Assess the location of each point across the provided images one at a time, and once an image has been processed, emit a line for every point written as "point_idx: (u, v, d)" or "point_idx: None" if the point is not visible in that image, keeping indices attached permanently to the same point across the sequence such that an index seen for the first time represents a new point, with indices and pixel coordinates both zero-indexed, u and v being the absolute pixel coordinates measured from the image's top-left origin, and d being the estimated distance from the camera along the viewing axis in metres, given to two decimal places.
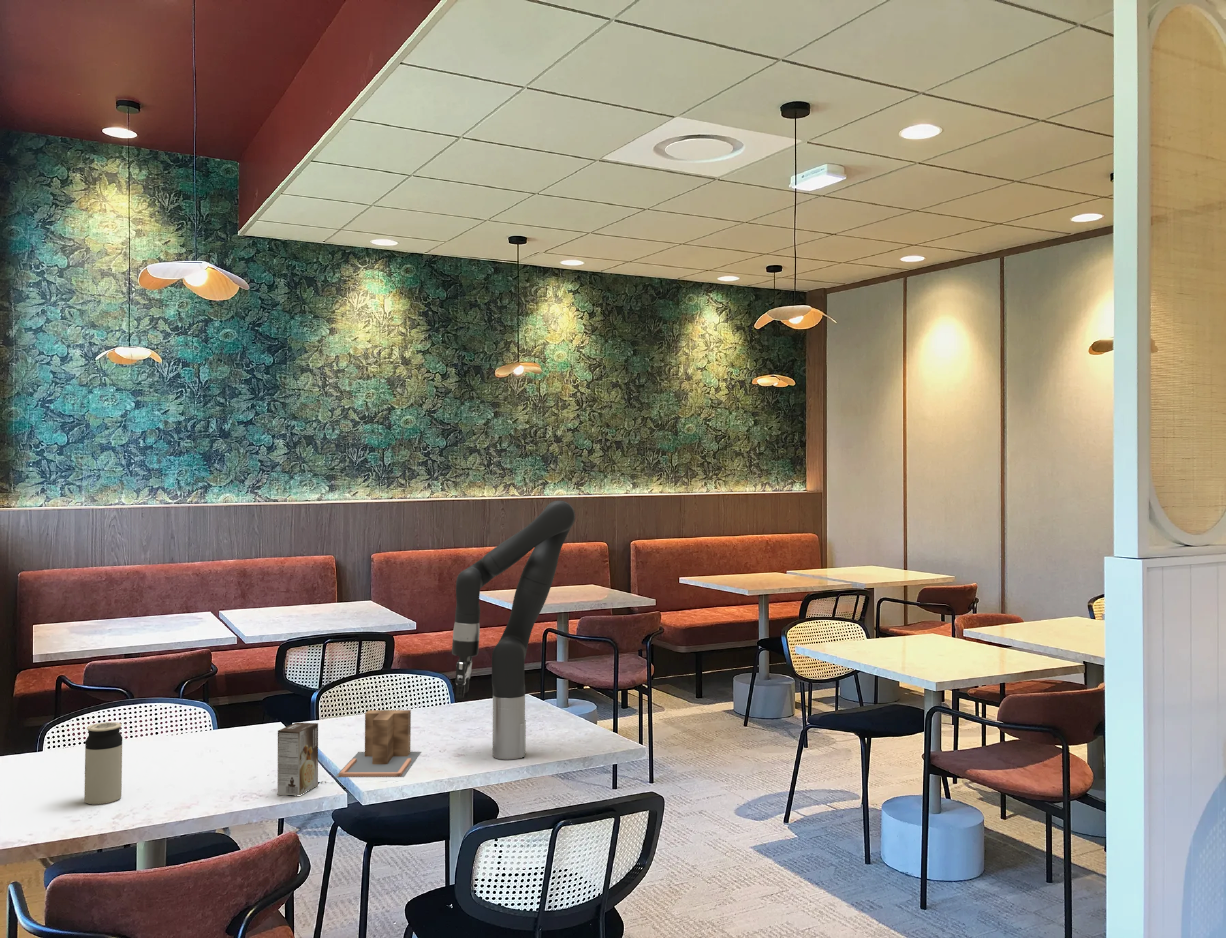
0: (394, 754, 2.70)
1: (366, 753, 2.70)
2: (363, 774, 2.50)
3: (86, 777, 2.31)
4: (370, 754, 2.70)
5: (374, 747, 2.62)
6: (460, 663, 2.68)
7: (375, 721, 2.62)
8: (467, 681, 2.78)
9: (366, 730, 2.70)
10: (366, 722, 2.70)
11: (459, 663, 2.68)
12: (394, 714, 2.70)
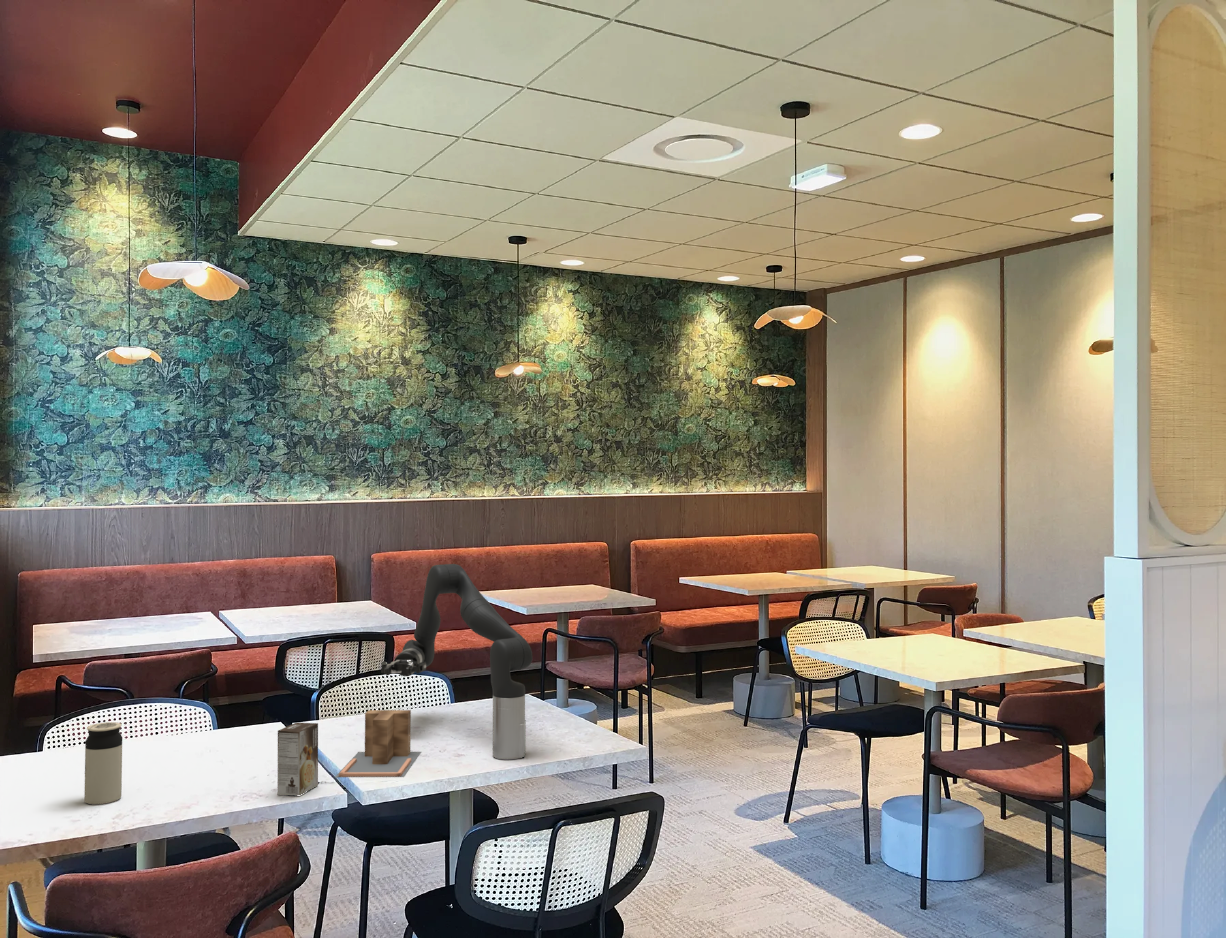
0: (394, 754, 2.70)
1: (366, 753, 2.70)
2: (363, 774, 2.50)
3: (86, 777, 2.31)
4: (370, 754, 2.70)
5: (374, 747, 2.62)
6: None
7: (375, 721, 2.62)
8: (408, 667, 2.88)
9: (366, 730, 2.70)
10: (366, 722, 2.70)
11: None
12: (394, 714, 2.70)
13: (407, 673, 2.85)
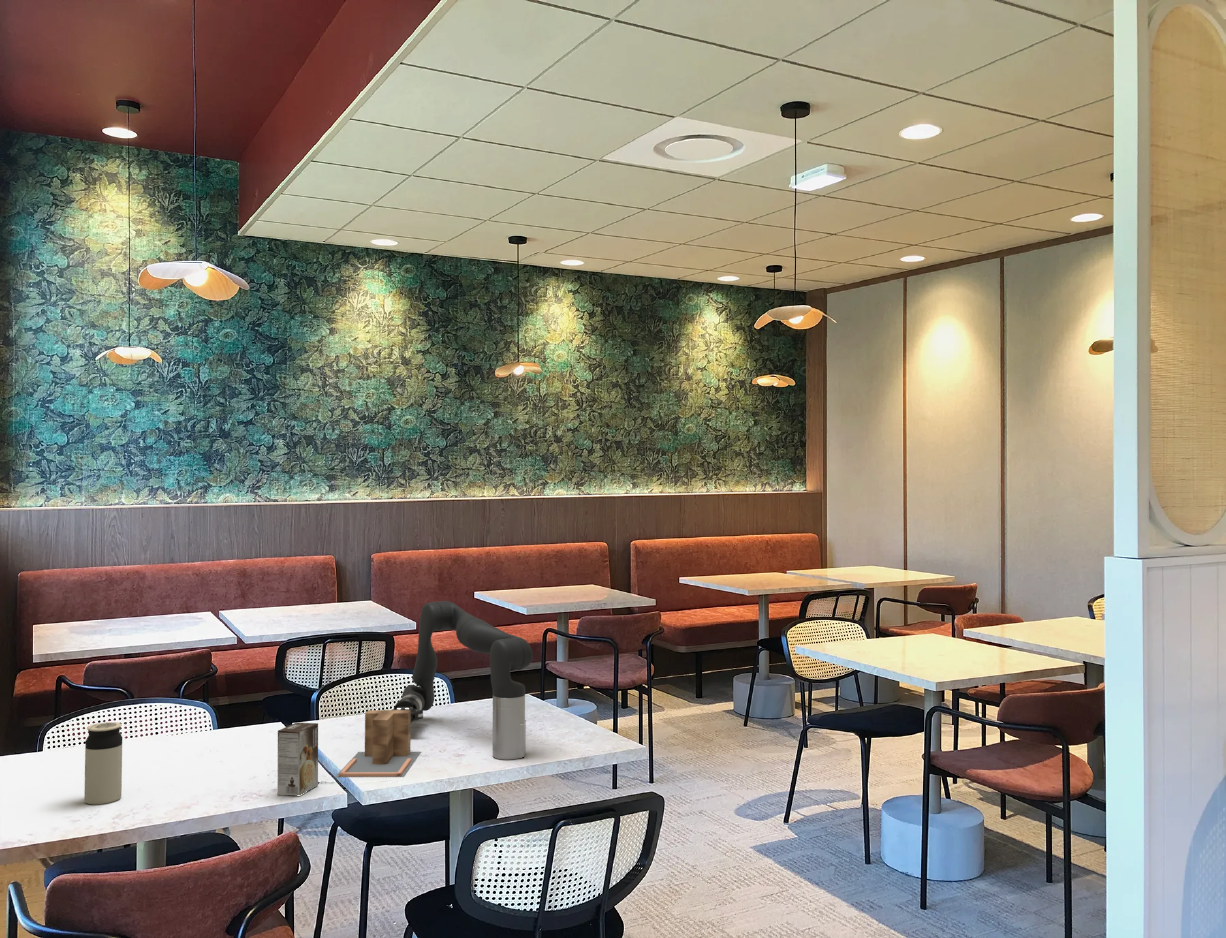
0: (394, 754, 2.70)
1: (366, 753, 2.70)
2: (363, 774, 2.50)
3: (86, 777, 2.31)
4: (370, 754, 2.70)
5: (374, 747, 2.62)
6: None
7: (375, 721, 2.62)
8: None
9: (366, 730, 2.70)
10: (366, 722, 2.70)
11: None
12: (394, 714, 2.70)
13: None
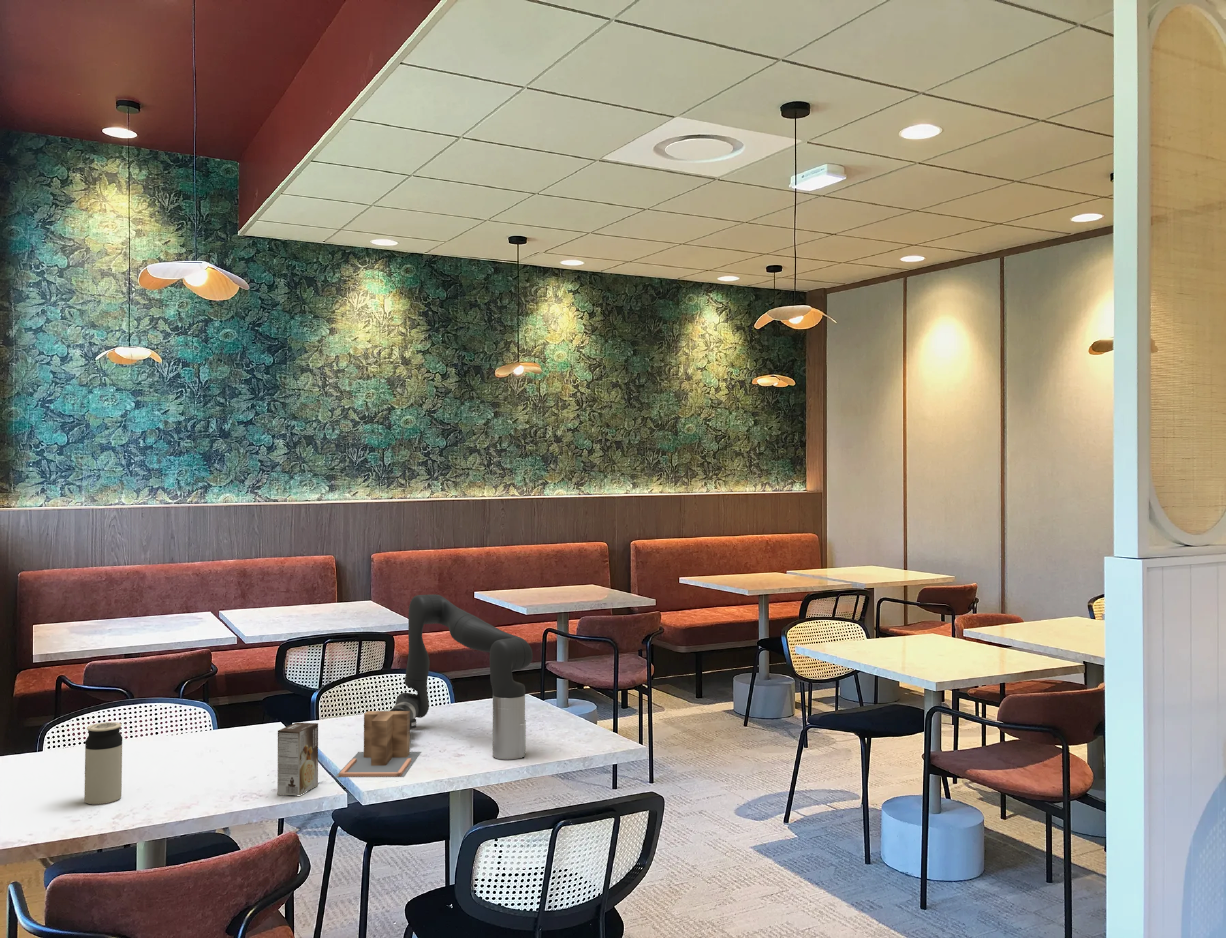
0: (393, 755, 2.69)
1: (365, 754, 2.68)
2: (363, 774, 2.50)
3: (86, 777, 2.31)
4: (369, 755, 2.68)
5: (373, 748, 2.61)
6: None
7: (374, 722, 2.61)
8: None
9: (365, 731, 2.69)
10: (365, 723, 2.69)
11: None
12: (393, 715, 2.69)
13: None
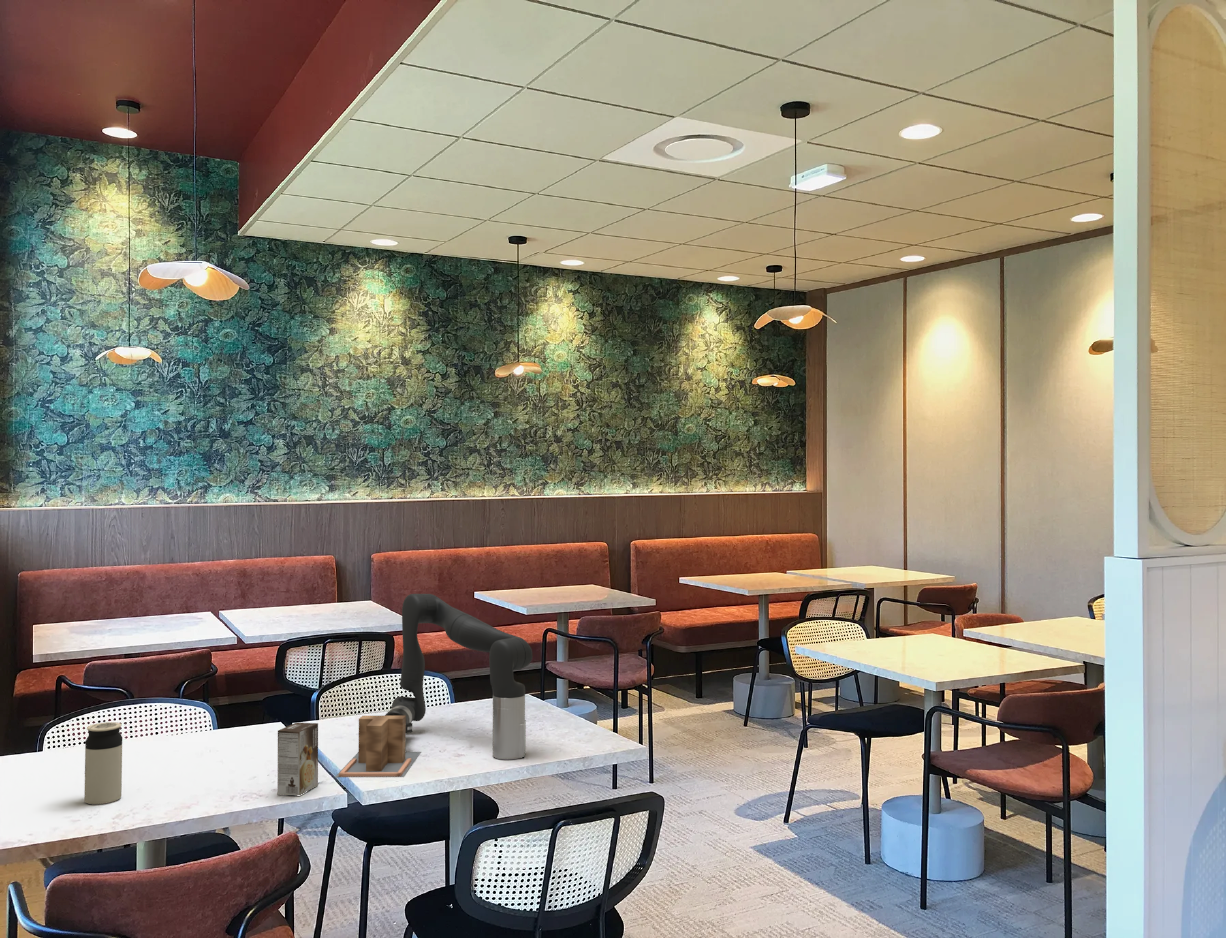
0: (388, 761, 2.63)
1: (360, 760, 2.63)
2: (363, 774, 2.50)
3: (86, 777, 2.31)
4: (364, 761, 2.63)
5: (368, 754, 2.55)
6: None
7: (369, 727, 2.55)
8: None
9: (360, 736, 2.63)
10: (360, 728, 2.63)
11: None
12: (388, 720, 2.63)
13: None
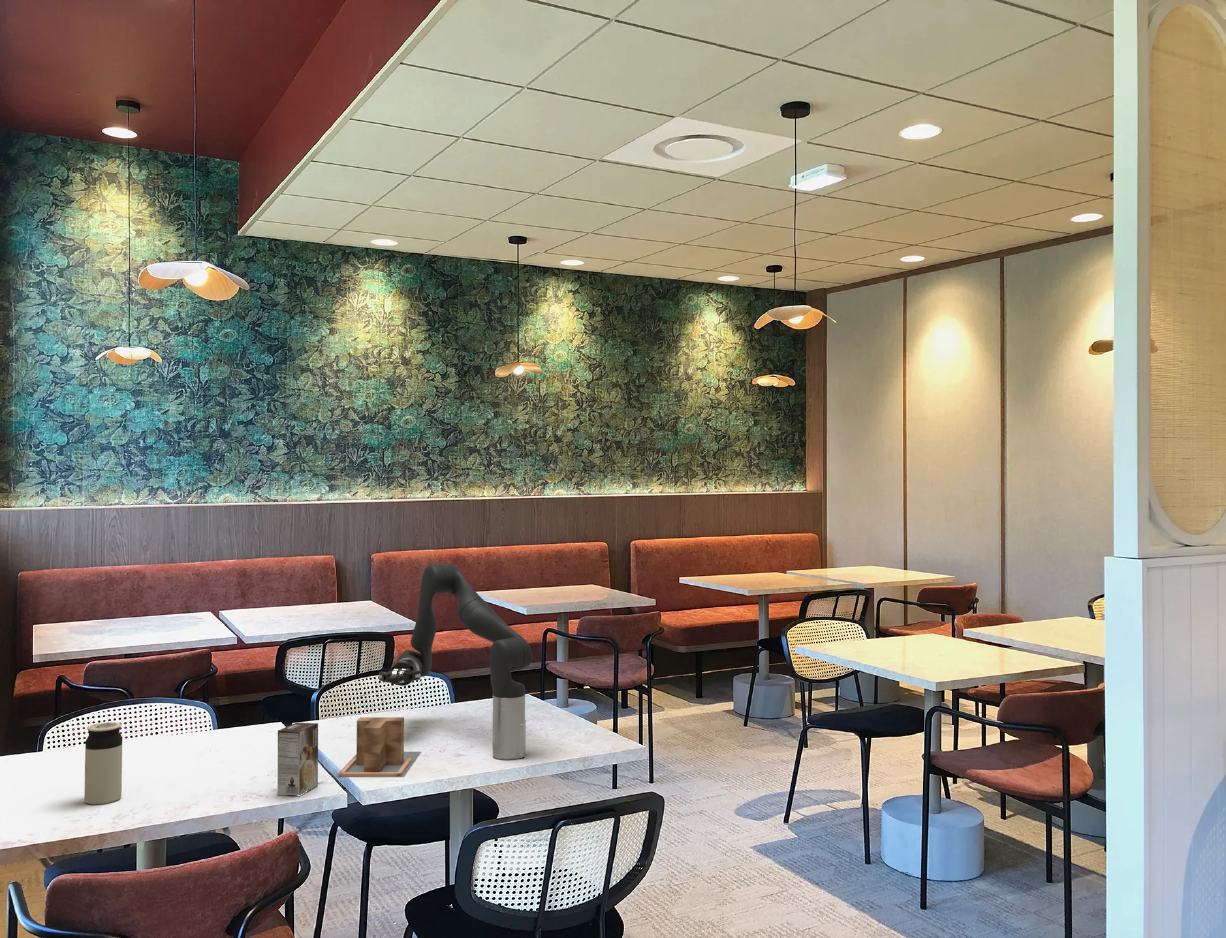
0: (387, 763, 2.61)
1: (358, 762, 2.61)
2: (363, 774, 2.50)
3: (86, 777, 2.31)
4: (362, 763, 2.61)
5: (366, 756, 2.53)
6: (379, 676, 2.87)
7: (367, 729, 2.53)
8: (395, 676, 2.82)
9: (358, 738, 2.61)
10: (358, 730, 2.61)
11: (379, 677, 2.87)
12: (387, 721, 2.61)
13: (394, 682, 2.79)
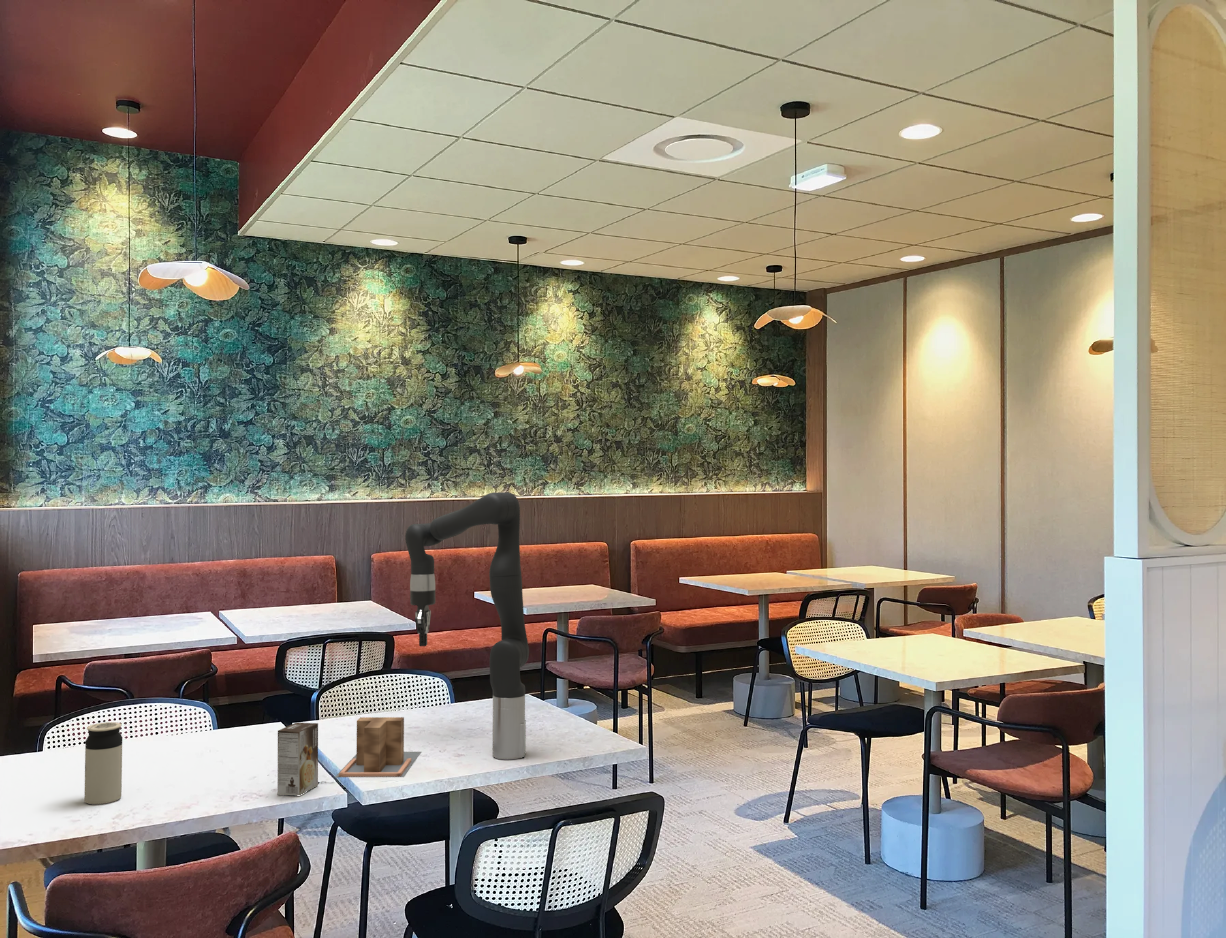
0: (387, 763, 2.61)
1: (358, 762, 2.61)
2: (363, 774, 2.50)
3: (86, 777, 2.31)
4: (362, 763, 2.61)
5: (366, 756, 2.53)
6: (418, 619, 2.87)
7: (367, 729, 2.53)
8: None
9: (358, 738, 2.61)
10: (358, 730, 2.61)
11: (417, 619, 2.87)
12: (387, 721, 2.61)
13: None
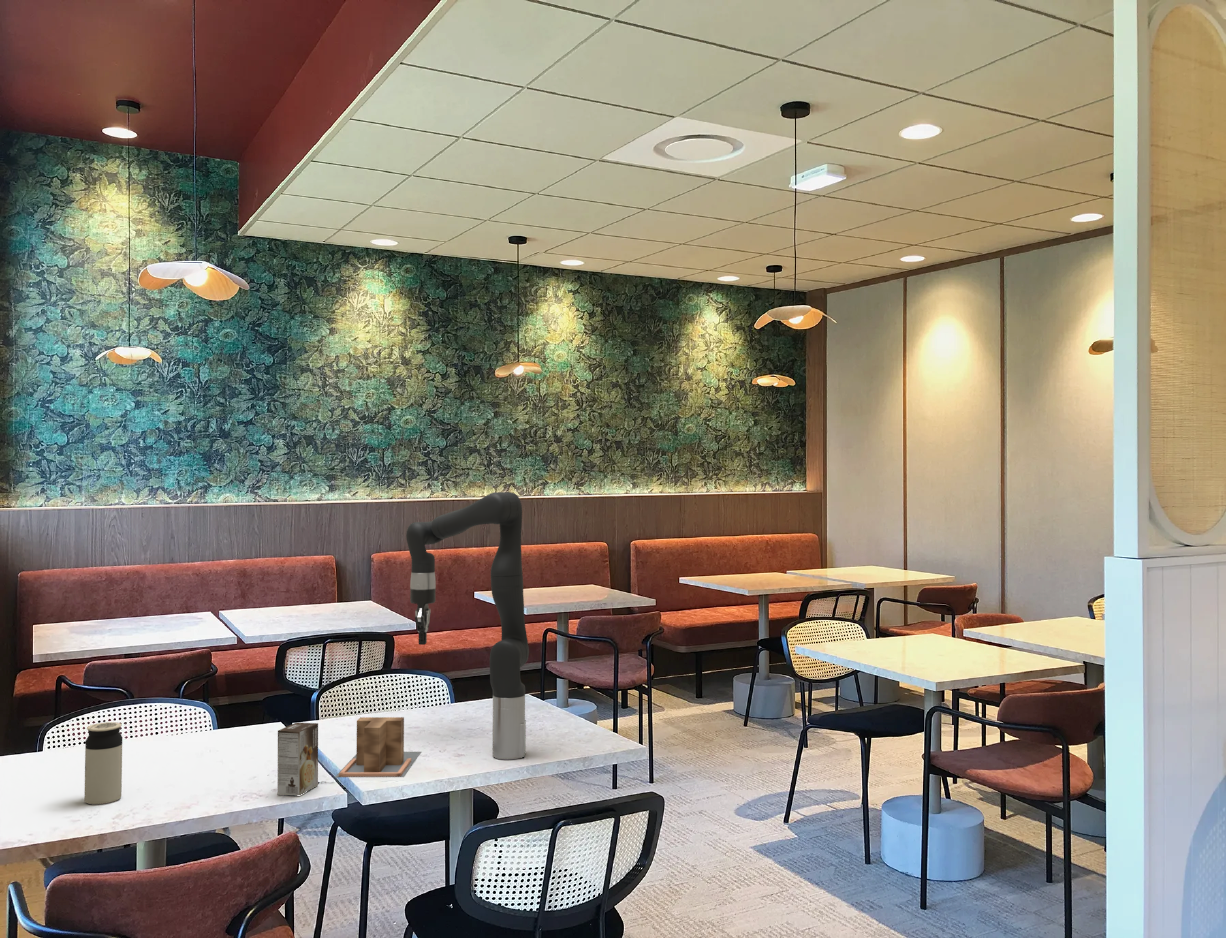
0: (387, 763, 2.61)
1: (358, 762, 2.61)
2: (363, 774, 2.50)
3: (86, 777, 2.31)
4: (362, 763, 2.61)
5: (366, 756, 2.53)
6: (418, 617, 2.87)
7: (367, 729, 2.53)
8: None
9: (358, 738, 2.61)
10: (358, 730, 2.61)
11: (417, 618, 2.87)
12: (387, 721, 2.61)
13: None
